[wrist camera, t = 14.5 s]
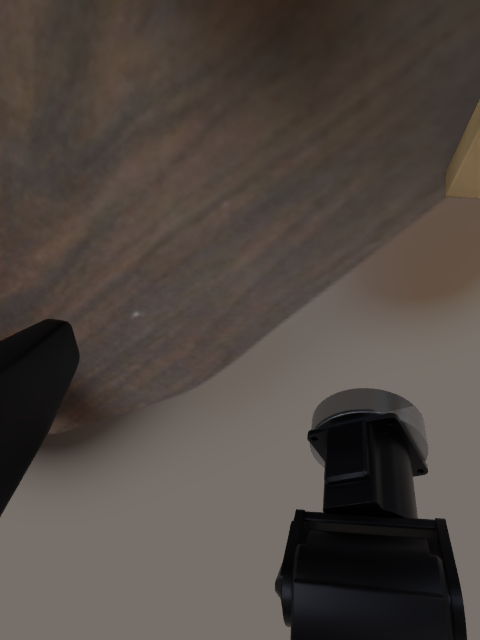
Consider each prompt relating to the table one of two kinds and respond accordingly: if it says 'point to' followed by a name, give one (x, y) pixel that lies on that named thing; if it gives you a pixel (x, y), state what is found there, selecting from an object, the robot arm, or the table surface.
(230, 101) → the table surface
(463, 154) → the wooden disc paddle
